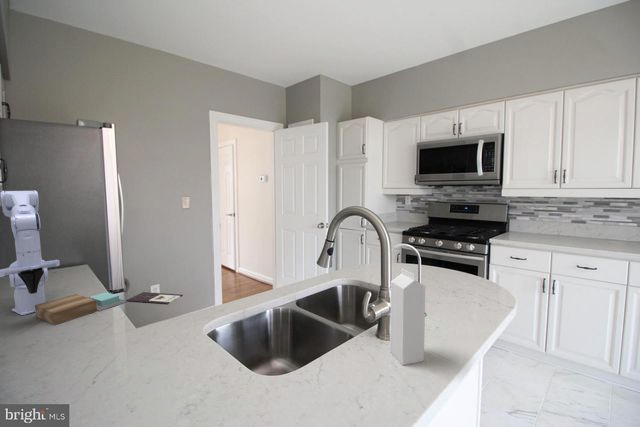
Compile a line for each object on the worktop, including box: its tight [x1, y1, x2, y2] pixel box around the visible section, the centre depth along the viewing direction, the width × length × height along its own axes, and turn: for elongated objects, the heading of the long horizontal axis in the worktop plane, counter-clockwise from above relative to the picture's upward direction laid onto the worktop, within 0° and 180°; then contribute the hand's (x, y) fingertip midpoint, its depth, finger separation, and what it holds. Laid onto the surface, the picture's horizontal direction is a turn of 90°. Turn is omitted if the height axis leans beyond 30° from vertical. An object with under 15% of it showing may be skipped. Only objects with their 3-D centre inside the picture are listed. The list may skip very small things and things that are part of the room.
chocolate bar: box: [125, 291, 183, 305], centre depth 119 cm, size 9×1×18 cm
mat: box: [96, 298, 129, 312], centre depth 115 cm, size 16×10×1 cm, turn 61°
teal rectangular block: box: [88, 291, 120, 306], centre depth 116 cm, size 9×6×2 cm, turn 61°
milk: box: [389, 267, 426, 366], centre depth 75 cm, size 6×6×22 cm
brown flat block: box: [34, 293, 98, 326], centre depth 105 cm, size 14×12×4 cm
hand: (32, 292), depth 98 cm, fingers closed
